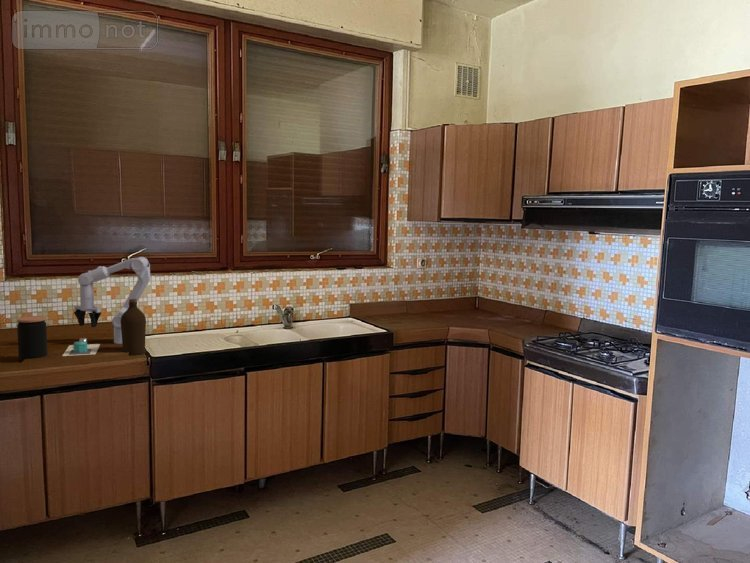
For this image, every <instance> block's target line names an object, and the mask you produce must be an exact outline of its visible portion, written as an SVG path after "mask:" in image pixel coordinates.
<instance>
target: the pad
mask: <svg viewBox="0 0 750 563" xmlns="http://www.w3.org/2000/svg"><path fill="white" fill-rule="evenodd" d="M91 350H92V349H87V351H86V352H81V353H75V352H74V350H71V352H70V353H69V355H74V356H77V355H76V354H90V352H91Z"/></svg>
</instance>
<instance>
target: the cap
mask: <svg viewBox="0 0 750 563" xmlns="http://www.w3.org/2000/svg"><path fill="white" fill-rule="evenodd" d="M87 344H88V341H87V342H86V341H80V340H79V341H75V342H73V344H72V345H73V347H74V352H75V353H81V352H86V351H87Z"/></svg>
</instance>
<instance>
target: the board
mask: <svg viewBox="0 0 750 563" xmlns="http://www.w3.org/2000/svg"><path fill="white" fill-rule="evenodd" d="M73 345H74V344H71V345H70V344H69V345H68V347H67V348H66V350H65V351H64V353H63V354H62V357H67V356H70V357H71V356H73V357H75V356H87V355H88V356H89V355H91V356H92V355H96V354H97V352H98V350H99V348H100V345H101V343H92V344H91V343H90V344H88V343H87V349H92V350H91V352H90V354H76V355H69V353H70V352H71V350H74V347H73Z"/></svg>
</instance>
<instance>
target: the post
mask: <svg viewBox="0 0 750 563" xmlns="http://www.w3.org/2000/svg"><path fill="white" fill-rule="evenodd" d="M79 341H86V342H87V343H88V338H86V337H81V338H79Z"/></svg>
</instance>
